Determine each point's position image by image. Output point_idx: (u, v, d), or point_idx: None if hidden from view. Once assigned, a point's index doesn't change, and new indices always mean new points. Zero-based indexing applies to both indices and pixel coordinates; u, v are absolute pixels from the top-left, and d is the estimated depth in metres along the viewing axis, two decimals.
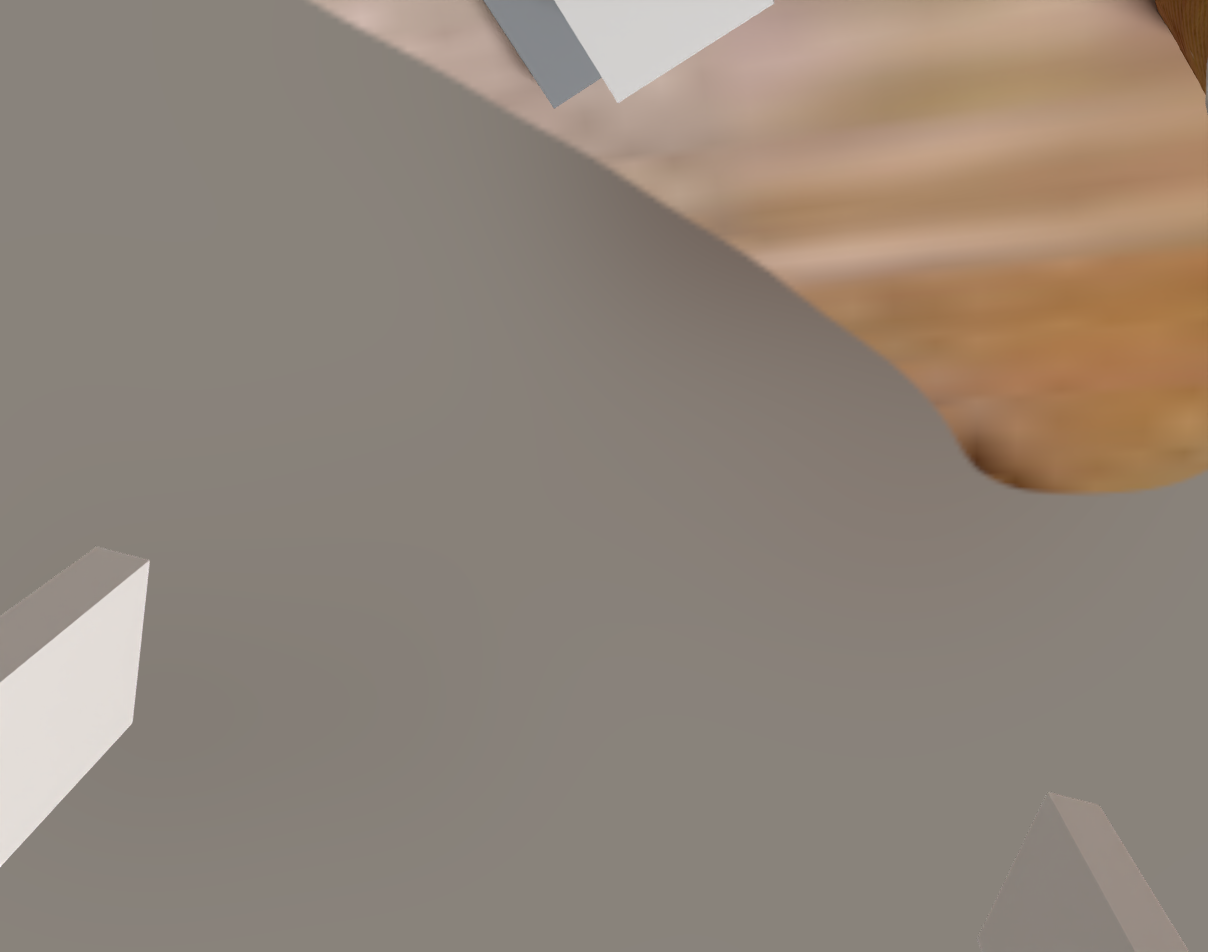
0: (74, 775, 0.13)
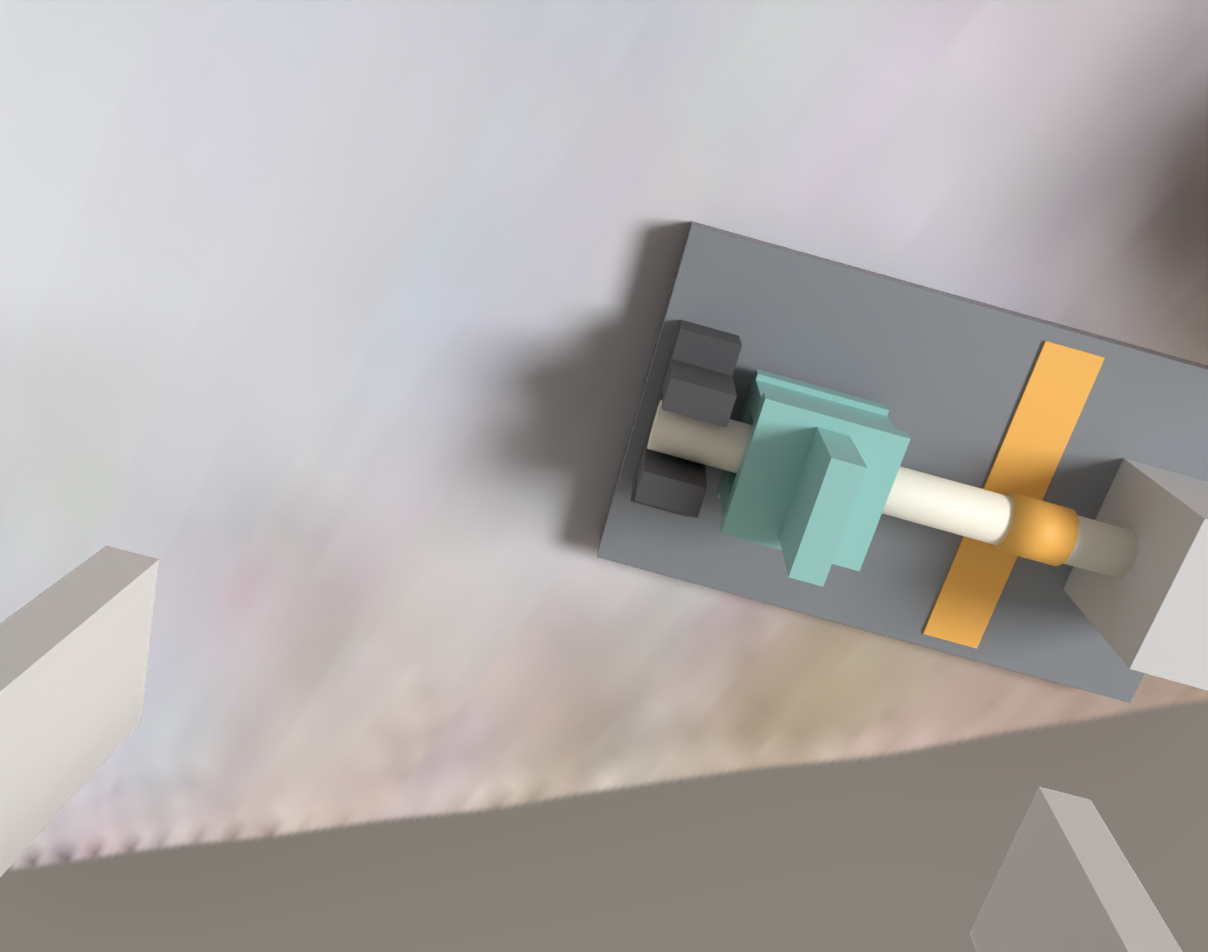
0: (84, 773, 0.13)
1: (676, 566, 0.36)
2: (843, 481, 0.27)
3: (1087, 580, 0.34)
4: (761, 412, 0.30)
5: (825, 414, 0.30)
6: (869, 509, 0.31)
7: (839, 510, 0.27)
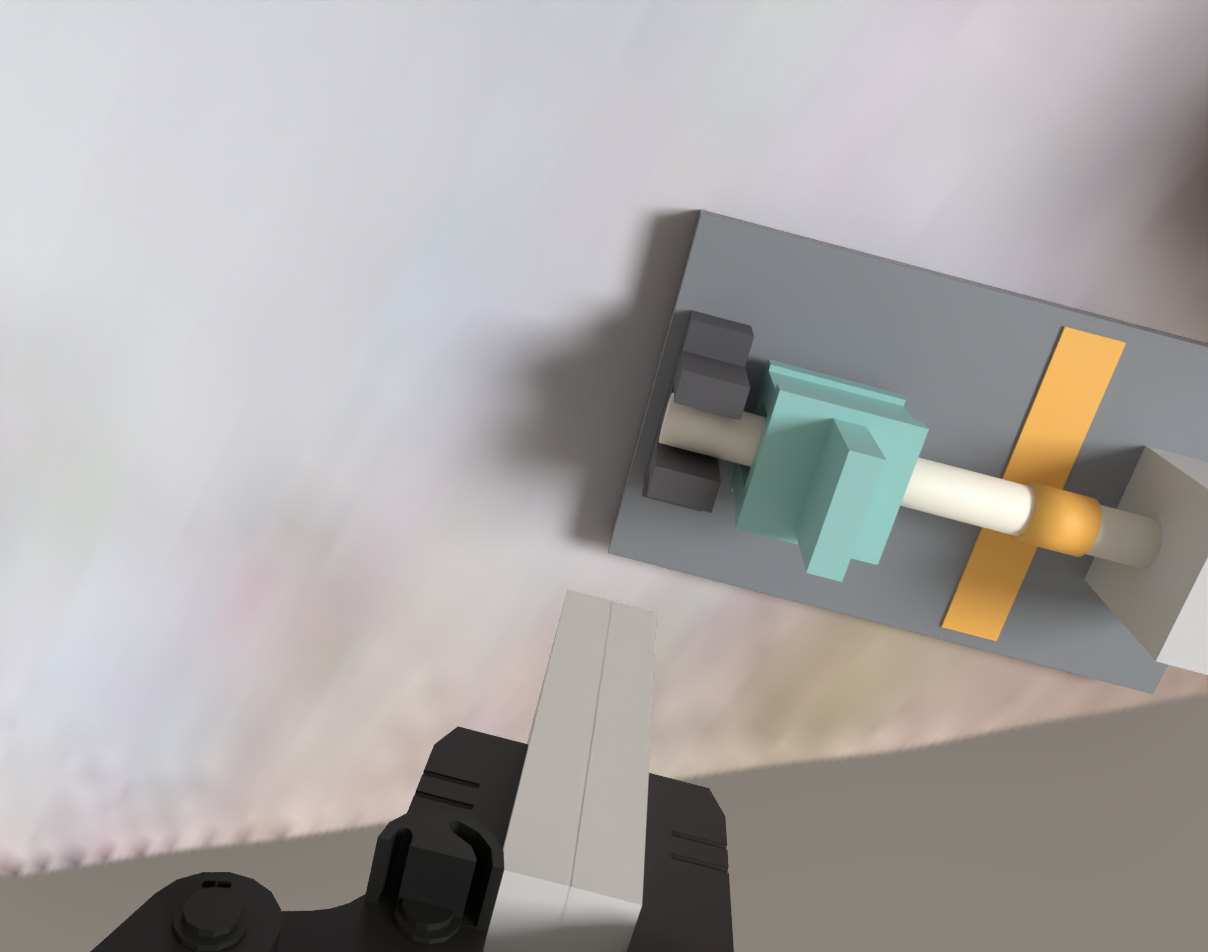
0: None
1: (689, 561, 0.36)
2: (861, 474, 0.26)
3: (1109, 570, 0.33)
4: (775, 404, 0.29)
5: (841, 405, 0.29)
6: (887, 501, 0.30)
7: (858, 504, 0.27)
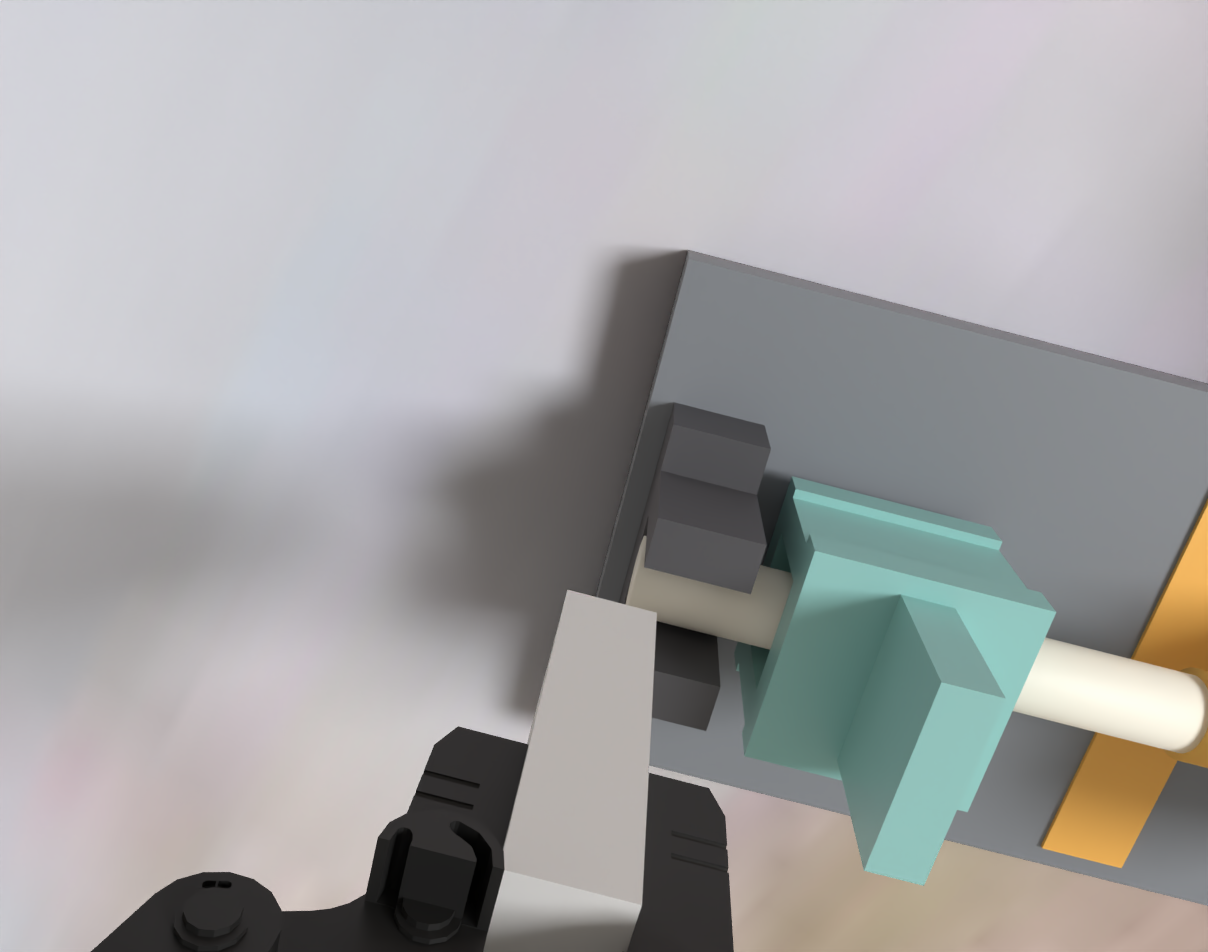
0: None
1: (676, 755, 0.25)
2: (962, 720, 0.15)
3: None
4: (808, 572, 0.18)
5: (914, 574, 0.18)
6: None
7: (954, 766, 0.16)
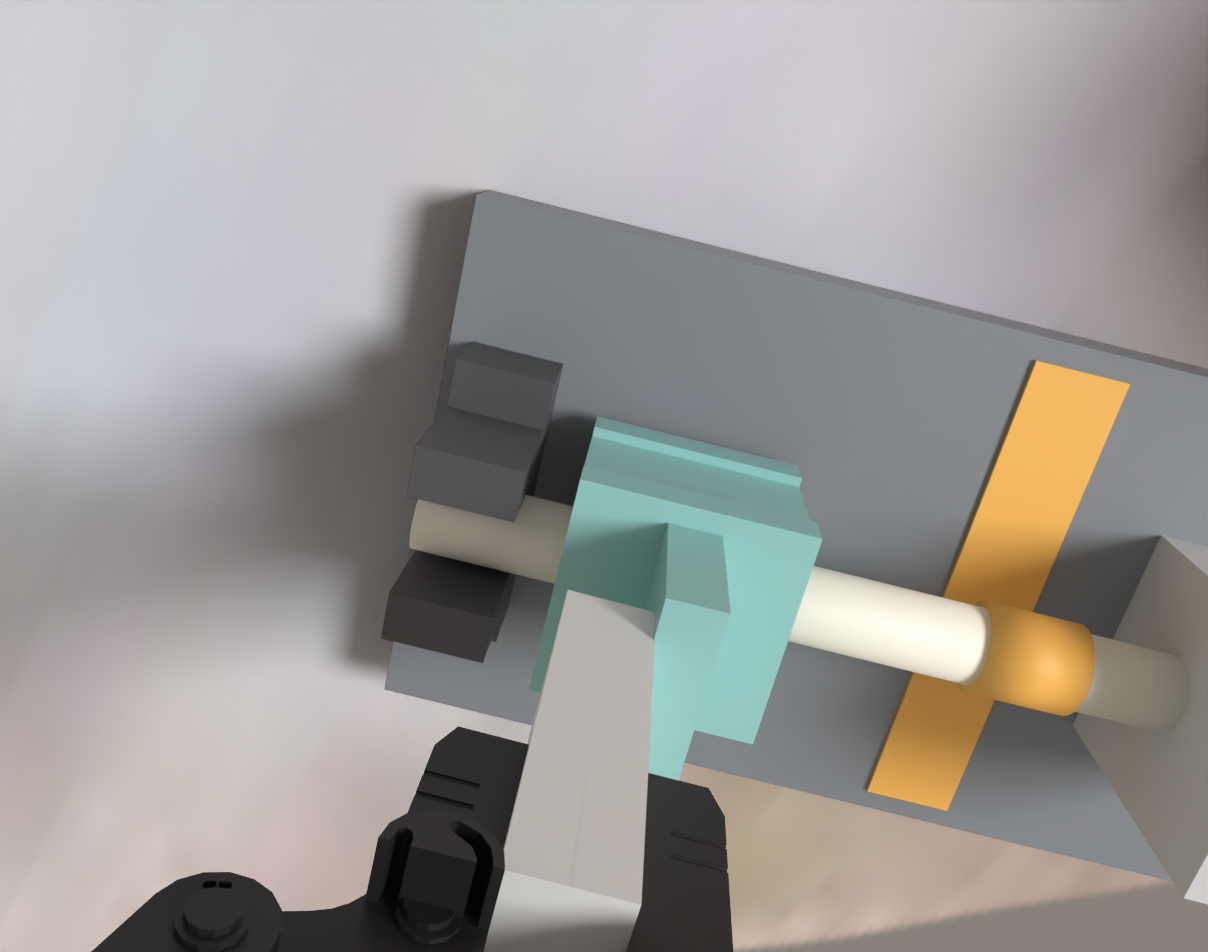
0: None
1: (501, 701, 0.25)
2: (690, 636, 0.15)
3: (1109, 722, 0.22)
4: (575, 501, 0.18)
5: (681, 501, 0.18)
6: (762, 650, 0.19)
7: (687, 684, 0.16)
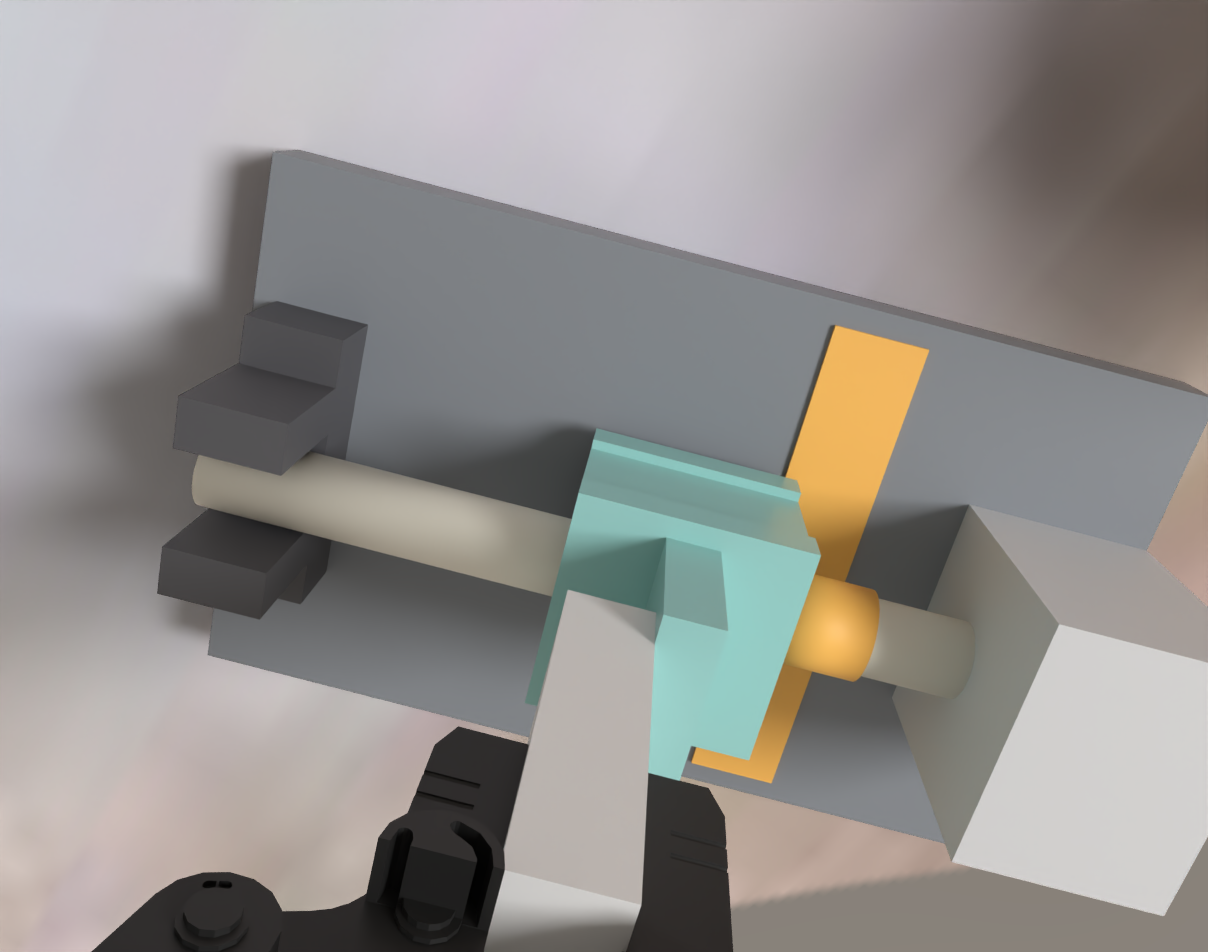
0: None
1: (324, 668, 0.25)
2: (687, 654, 0.15)
3: (917, 692, 0.22)
4: (573, 514, 0.18)
5: (679, 516, 0.18)
6: (759, 666, 0.19)
7: (684, 701, 0.16)
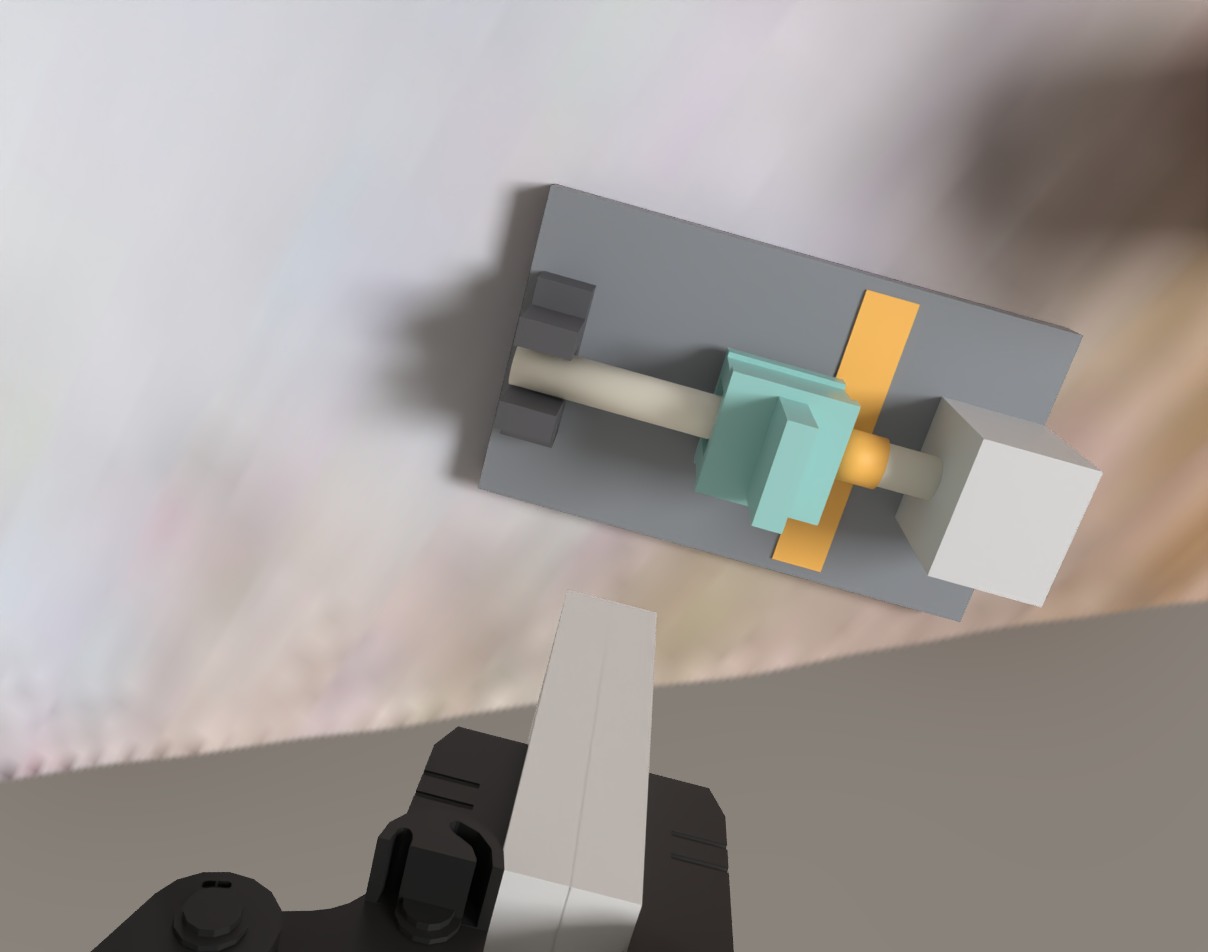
0: None
1: (549, 497, 0.40)
2: (798, 440, 0.31)
3: (910, 506, 0.38)
4: (729, 383, 0.34)
5: (786, 385, 0.34)
6: (825, 469, 0.35)
7: (795, 466, 0.31)
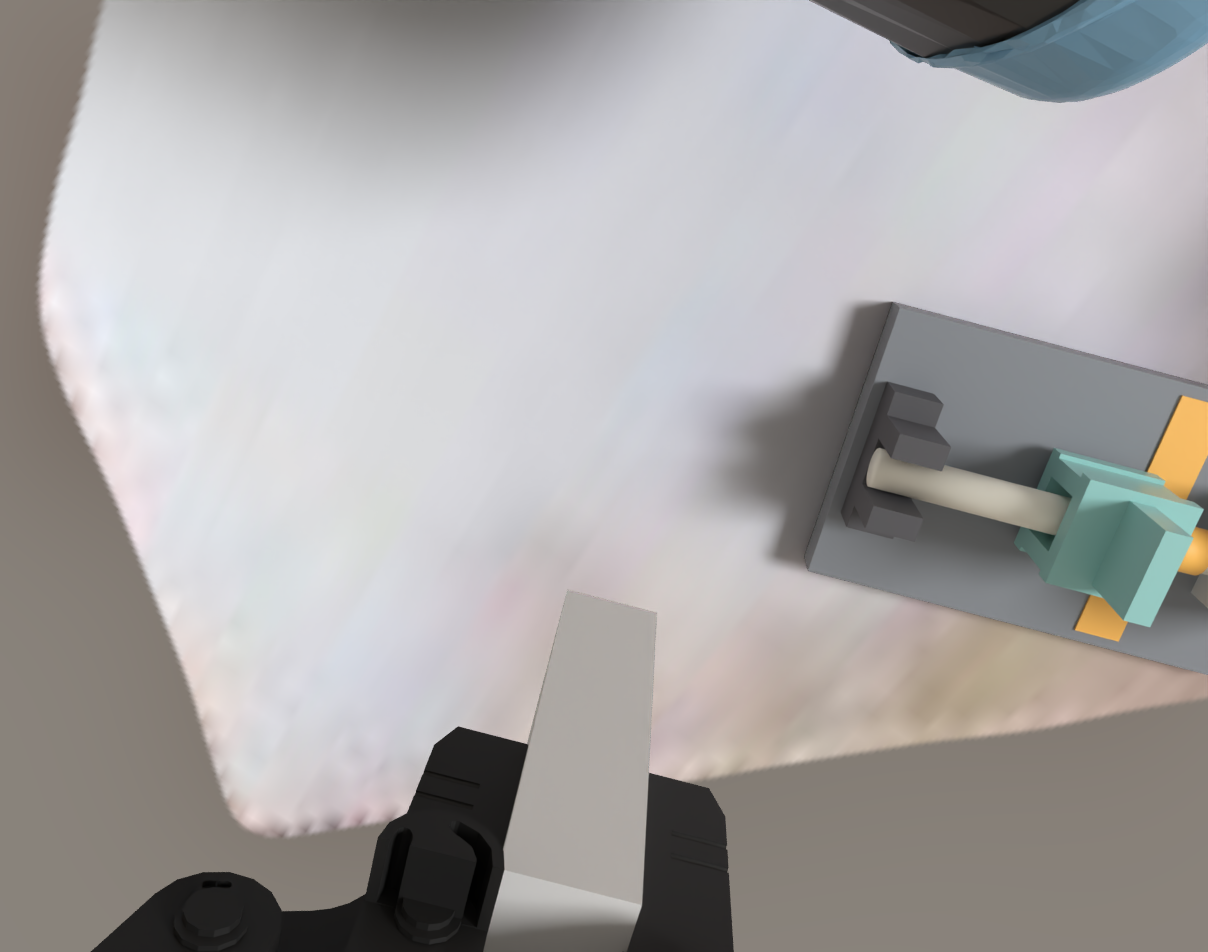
0: None
1: (873, 578, 0.45)
2: (1173, 548, 0.36)
3: None
4: (1086, 490, 0.38)
5: (1136, 491, 0.38)
6: None
7: (1168, 569, 0.36)
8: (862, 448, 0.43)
